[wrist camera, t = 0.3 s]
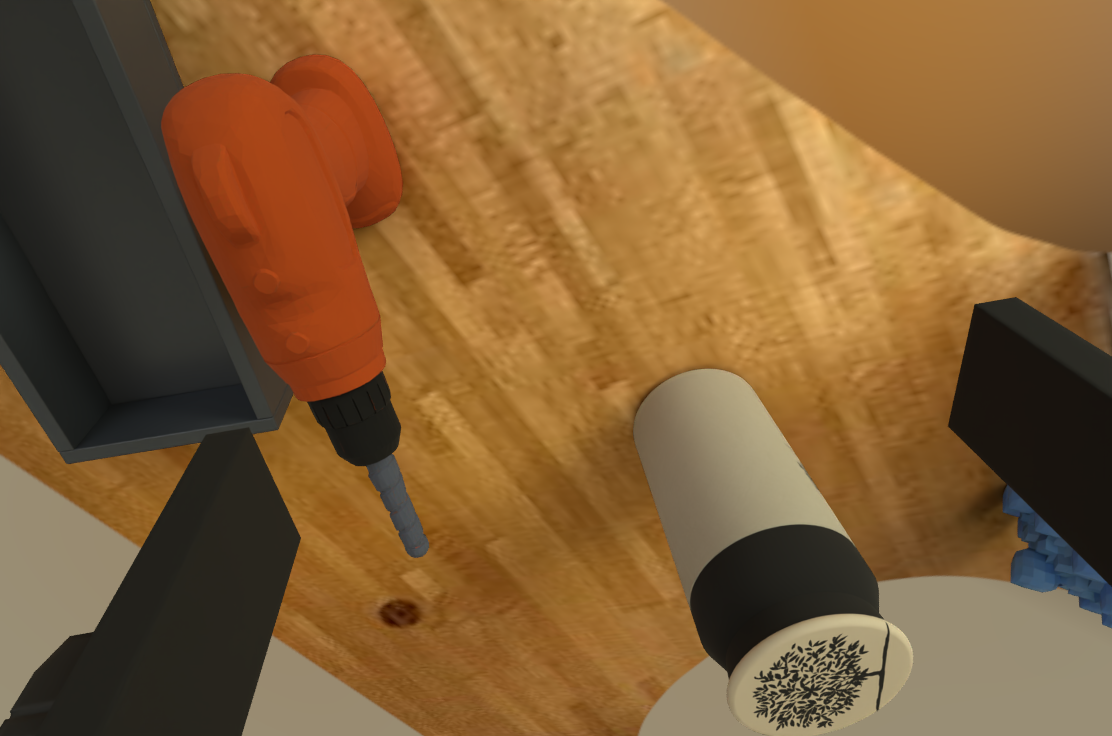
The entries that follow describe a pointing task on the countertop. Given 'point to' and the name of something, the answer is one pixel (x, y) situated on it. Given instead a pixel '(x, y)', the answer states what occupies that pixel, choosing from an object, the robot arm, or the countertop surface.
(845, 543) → the travel mug
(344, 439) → the toy drill
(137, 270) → the tray
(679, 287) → the countertop surface
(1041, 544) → the grapes
